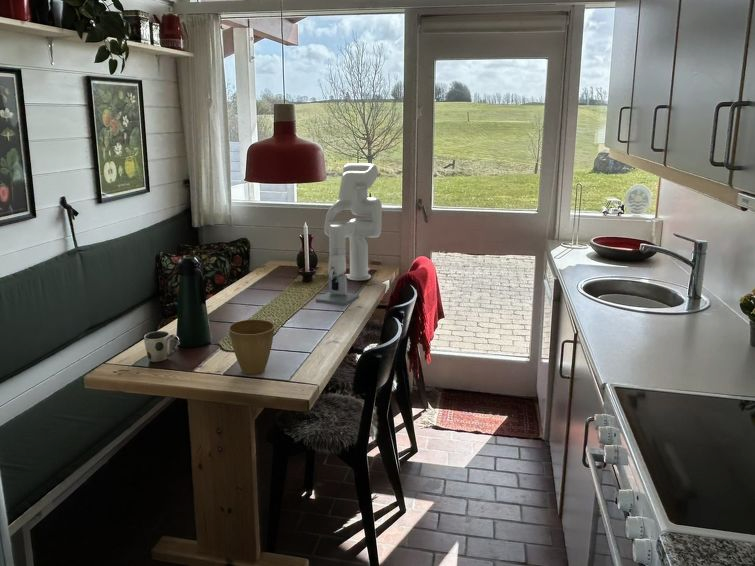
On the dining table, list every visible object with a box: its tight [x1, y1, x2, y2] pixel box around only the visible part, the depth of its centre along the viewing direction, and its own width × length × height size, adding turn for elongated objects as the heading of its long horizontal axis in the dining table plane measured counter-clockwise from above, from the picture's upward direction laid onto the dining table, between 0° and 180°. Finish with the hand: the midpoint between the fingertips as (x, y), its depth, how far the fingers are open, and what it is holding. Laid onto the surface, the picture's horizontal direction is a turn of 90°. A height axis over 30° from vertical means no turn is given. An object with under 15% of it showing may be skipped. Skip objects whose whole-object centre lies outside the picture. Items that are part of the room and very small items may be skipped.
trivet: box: [315, 291, 360, 306], centre depth 293 cm, size 15×15×1 cm
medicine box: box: [328, 273, 348, 294], centre depth 295 cm, size 8×4×9 cm, turn 81°
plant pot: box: [228, 319, 275, 376], centre depth 209 cm, size 15×15×16 cm
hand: (338, 287), depth 296 cm, fingers closed on medicine box, 5 cm apart
